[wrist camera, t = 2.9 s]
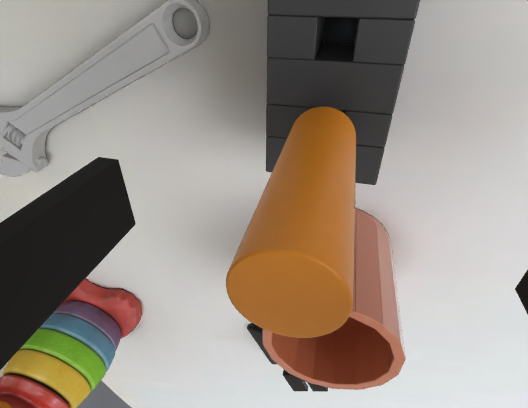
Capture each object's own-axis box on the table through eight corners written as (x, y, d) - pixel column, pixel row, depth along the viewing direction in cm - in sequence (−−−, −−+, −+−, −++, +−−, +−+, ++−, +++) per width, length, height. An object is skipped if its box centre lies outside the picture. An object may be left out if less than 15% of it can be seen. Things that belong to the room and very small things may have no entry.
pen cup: (291, 198, 25) (262, 293, 18) (402, 213, 24) (422, 324, 16) (286, 272, 30) (262, 371, 22) (378, 288, 28) (386, 401, 21)
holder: (293, -152, 15) (269, -199, 11) (438, -161, 14) (472, -218, 10) (281, 137, 23) (265, 171, 19) (372, 146, 22) (375, 185, 18)
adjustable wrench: (196, -15, 19) (183, -14, 17) (241, 92, 22) (233, 101, 20) (-39, 115, 28) (-60, 122, 27) (14, 177, 31) (-2, 186, 30)
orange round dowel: (309, 70, 20) (220, 240, 7) (360, 73, 19) (364, 264, 6) (305, 118, 21) (228, 324, 9) (352, 122, 21) (342, 349, 8)
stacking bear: (142, 295, 38) (12, 487, 24) (143, 340, 44) (40, 515, 30) (57, 265, 38) (-119, 434, 24) (70, 314, 45) (-65, 472, 30)
